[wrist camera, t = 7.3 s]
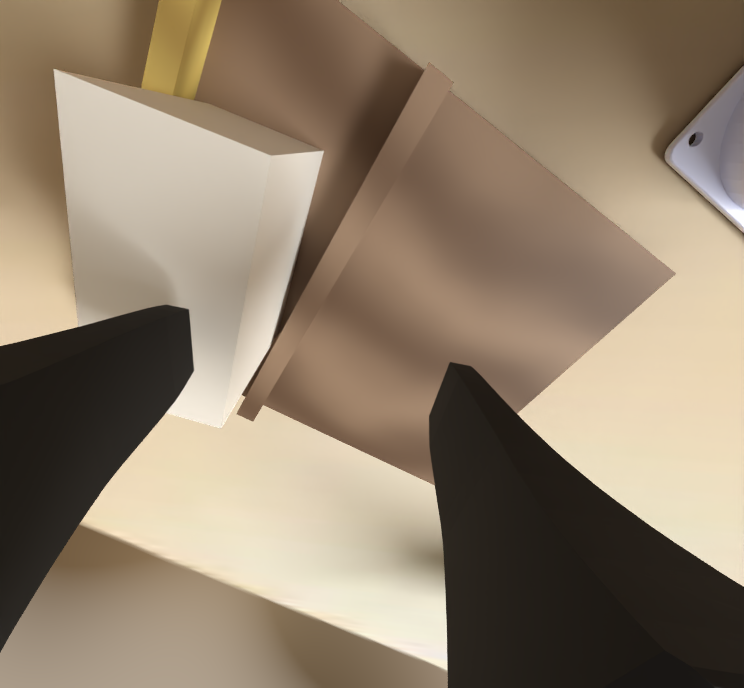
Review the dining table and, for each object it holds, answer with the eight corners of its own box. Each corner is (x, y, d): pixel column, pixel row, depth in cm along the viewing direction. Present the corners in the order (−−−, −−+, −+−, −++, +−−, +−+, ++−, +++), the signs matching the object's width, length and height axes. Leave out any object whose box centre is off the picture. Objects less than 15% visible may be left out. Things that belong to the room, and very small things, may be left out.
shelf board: (232, -74, 12) (187, -136, 9) (654, 263, 17) (701, 285, 14) (127, 320, 20) (87, 346, 17) (432, 467, 25) (437, 505, 22)
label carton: (198, 99, 13) (33, 60, 7) (323, 150, 14) (270, 155, 8) (182, 302, 17) (71, 386, 11) (277, 334, 18) (221, 428, 12)
